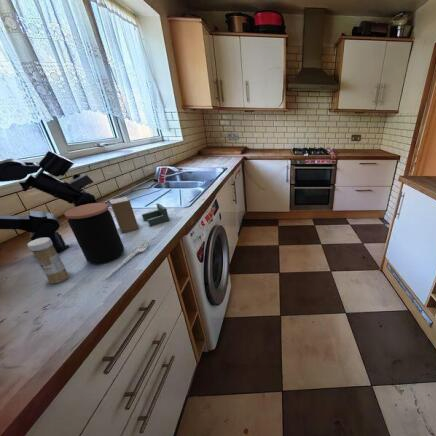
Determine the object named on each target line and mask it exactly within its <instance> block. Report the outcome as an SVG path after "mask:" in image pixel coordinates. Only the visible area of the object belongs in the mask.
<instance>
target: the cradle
mask: <svg viewBox="0 0 436 436" xmlns="http://www.w3.org/2000/svg"><path fill="white" fill-rule="evenodd" d="M155 205H156V209H155V210H152V211H148V212H145V213H142V214H141V217H142V219H143V221H147V223H148V226H149V227H153V226H156V225H159V224H163V223H165V222H168V221H170V217H169V213H168V210H167V207H165V206H164V205H162V204H160V203H159V202H158V203H155Z"/></svg>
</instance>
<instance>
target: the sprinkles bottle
mask: <svg viewBox="0 0 436 436" xmlns="http://www.w3.org/2000/svg"><path fill="white" fill-rule="evenodd" d="M52 244H53V243H52V241H51V239H50V238H47V237H45V238H39V239H35V240H33V241H29V242H28V243H27V245H26V246H27V248H28V250H29V251H30V252H32V254H33V255H34V257H35V259H36V261H37V263H38V265H39V267H40V268H41V270H42V272H43V274H44V275H45V276H46V278H47V280H48V283H50V284H59V283H61V282H64V281H65V280H67V279H68V278H69V277H70V273H69V272H68V271H67V269H66V268H65V267H66V266H65V265H64V263H63V261H62V259H61V257H60V255H59V253H57V252H56V250H55V248H54V246H53V245H52Z"/></svg>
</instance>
